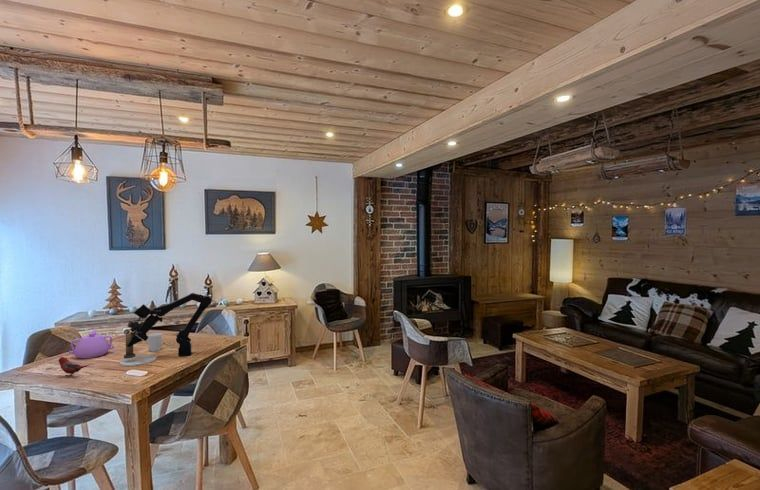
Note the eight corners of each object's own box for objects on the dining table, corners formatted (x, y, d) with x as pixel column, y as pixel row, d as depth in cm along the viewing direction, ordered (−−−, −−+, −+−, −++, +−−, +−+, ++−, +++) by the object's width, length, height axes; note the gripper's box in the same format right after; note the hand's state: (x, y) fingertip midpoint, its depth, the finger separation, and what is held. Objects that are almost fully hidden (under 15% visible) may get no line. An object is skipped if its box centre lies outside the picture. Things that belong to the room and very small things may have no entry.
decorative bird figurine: (60, 374, 192) (60, 355, 192) (91, 376, 190) (91, 357, 190) (55, 376, 189) (55, 357, 189) (86, 378, 187) (86, 358, 187)
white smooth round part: (159, 354, 226) (159, 353, 226) (152, 364, 209) (152, 362, 209) (125, 358, 220) (125, 356, 220) (115, 367, 203) (115, 366, 203)
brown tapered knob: (136, 354, 215) (136, 332, 215) (133, 357, 209) (133, 335, 209) (125, 356, 213) (125, 333, 213) (122, 358, 207) (122, 336, 207)
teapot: (115, 347, 242) (115, 326, 241) (113, 356, 223) (113, 333, 223) (72, 353, 230) (72, 331, 229) (66, 362, 211) (66, 338, 211)
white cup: (155, 352, 232) (155, 336, 232) (144, 351, 233) (144, 335, 233) (165, 348, 239) (165, 333, 239) (154, 347, 241) (154, 332, 241)
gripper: (133, 313, 220) (111, 335, 213) (141, 317, 207) (117, 341, 199) (148, 324, 226) (127, 345, 218) (157, 329, 213) (135, 352, 205)
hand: (126, 346), depth 210 cm, fingers closed on brown tapered knob, 4 cm apart
